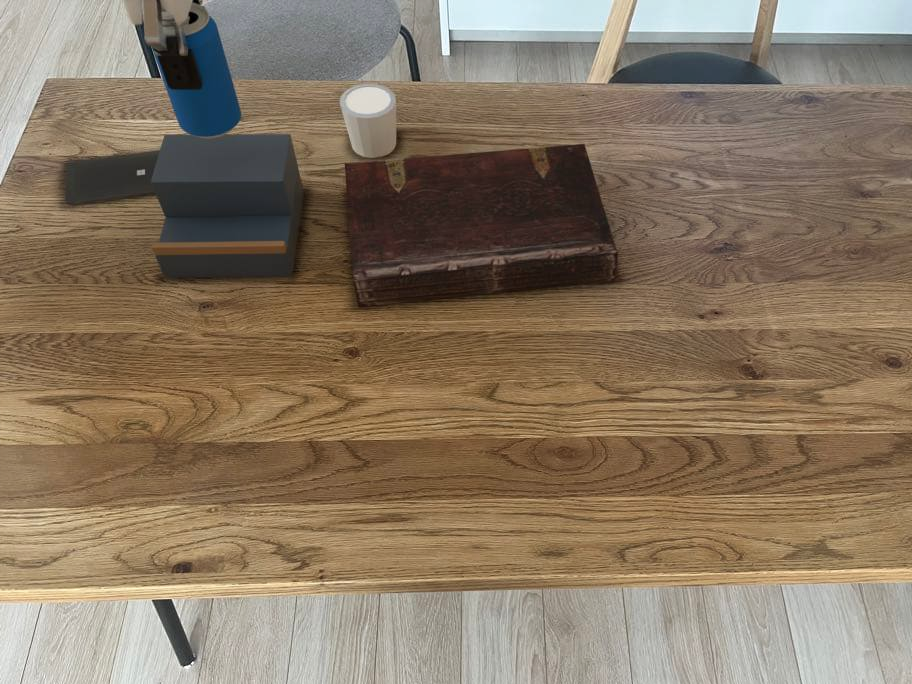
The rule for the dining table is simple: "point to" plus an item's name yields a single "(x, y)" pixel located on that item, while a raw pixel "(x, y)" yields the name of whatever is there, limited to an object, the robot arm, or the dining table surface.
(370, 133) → the white cylinder
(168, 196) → the step shelf
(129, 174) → the smartphone
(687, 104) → the dining table surface
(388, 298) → the hardback book
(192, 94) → the beverage can
